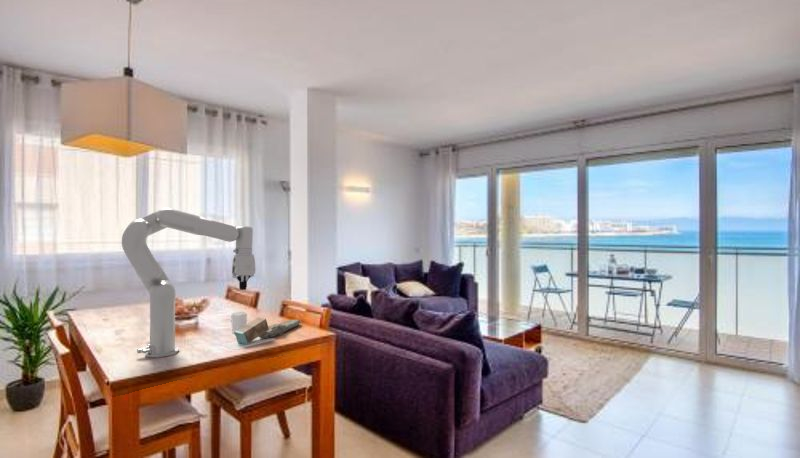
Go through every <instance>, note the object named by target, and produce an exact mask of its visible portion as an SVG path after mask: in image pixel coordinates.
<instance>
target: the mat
mask: <svg viewBox="0 0 800 458" xmlns="http://www.w3.org/2000/svg"><path fill="white" fill-rule="evenodd" d="M276 340H277V338H274V337H269V338H260V337H257V338H256V339H254V340H252V341H251V342H249V343H248V344H247V345H243V344H240V343H238V342H237V340H236V341H231V342H227V343H223V344H221V346H223V347H226V348H228V349H231V350H234V351H236V350H240V349H245V348H249V347H252V346H256V345H259V344H264V343H267V342H271V341H272V342H273V341H276Z"/></svg>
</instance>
